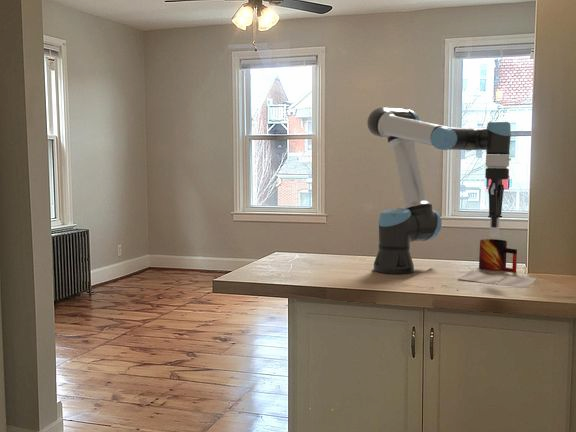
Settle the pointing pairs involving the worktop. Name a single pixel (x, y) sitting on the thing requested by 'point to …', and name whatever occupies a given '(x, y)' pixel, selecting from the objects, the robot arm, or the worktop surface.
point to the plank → (481, 277)
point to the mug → (495, 255)
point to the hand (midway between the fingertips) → (494, 236)
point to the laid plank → (516, 281)
